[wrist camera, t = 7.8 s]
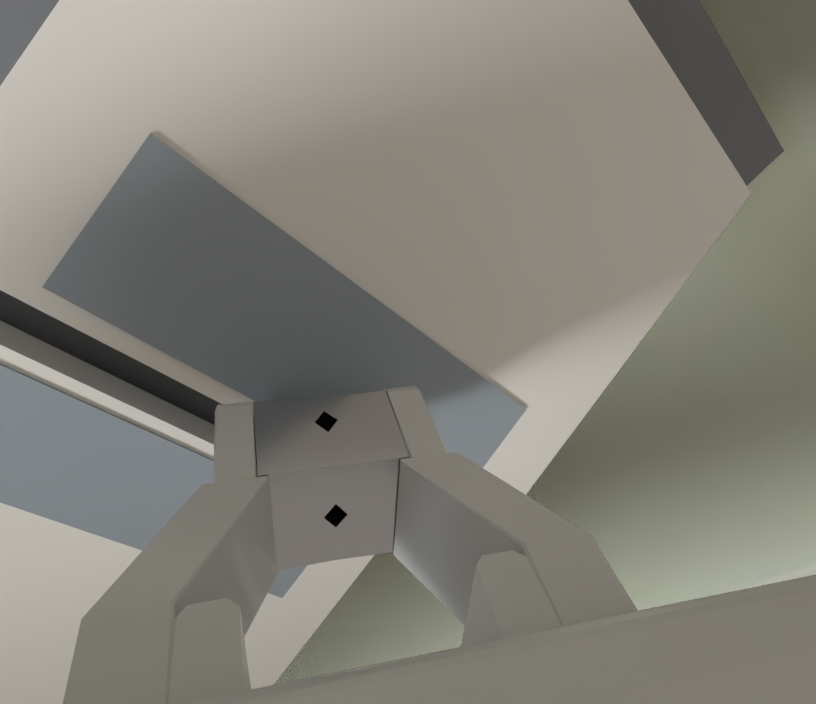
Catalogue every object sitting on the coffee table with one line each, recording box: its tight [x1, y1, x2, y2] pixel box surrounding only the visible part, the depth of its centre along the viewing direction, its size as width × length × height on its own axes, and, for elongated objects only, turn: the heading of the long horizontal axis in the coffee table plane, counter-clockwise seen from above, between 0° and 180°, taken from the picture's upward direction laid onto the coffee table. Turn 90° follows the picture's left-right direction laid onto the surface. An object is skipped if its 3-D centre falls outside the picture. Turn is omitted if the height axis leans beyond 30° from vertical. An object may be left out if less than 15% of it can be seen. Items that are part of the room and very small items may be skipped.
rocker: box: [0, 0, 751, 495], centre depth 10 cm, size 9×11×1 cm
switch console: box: [0, 0, 784, 425], centre depth 15 cm, size 23×13×7 cm, turn 136°
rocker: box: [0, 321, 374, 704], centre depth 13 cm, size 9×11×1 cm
